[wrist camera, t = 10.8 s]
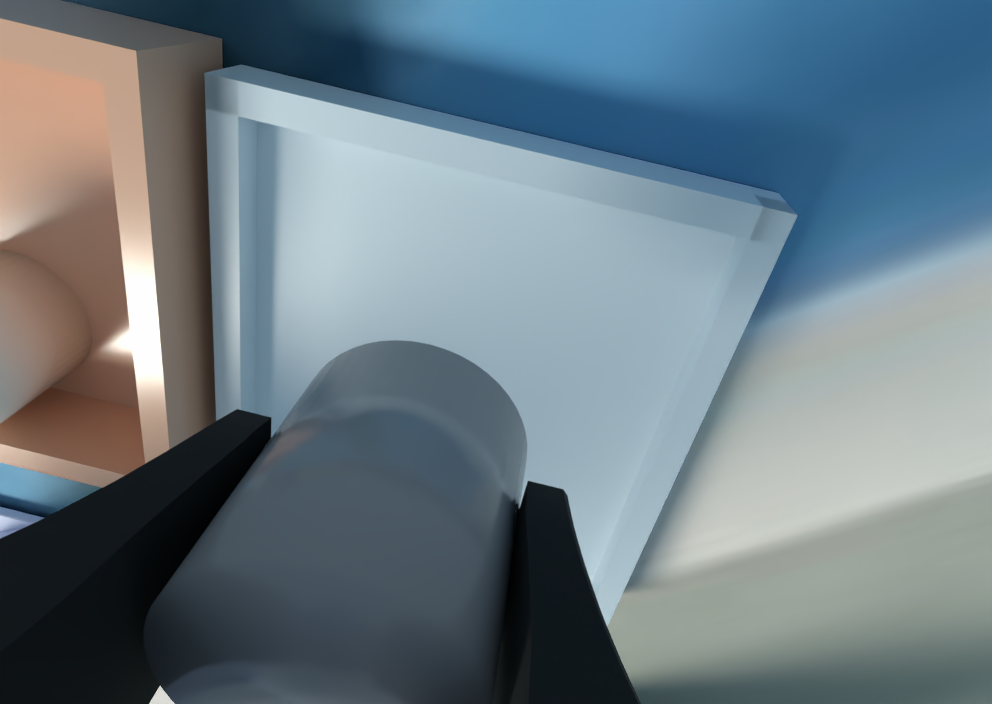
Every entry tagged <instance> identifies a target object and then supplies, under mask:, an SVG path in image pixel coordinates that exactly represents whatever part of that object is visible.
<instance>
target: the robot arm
mask: <svg viewBox="0 0 992 704" xmlns="http://www.w3.org/2000/svg"><path fill="white" fill-rule="evenodd" d="M271 418H272V417H267V416H263V415H259V414H255V413H251V412H247V411H243V410H239V409H236V410H234V411H233V412H231V413H229V414H228V415H226V416H224V417H222V418H221V419H219V420H217V421H215V422H214V423H212V424H211V425H209V426H207V427H206V428H204V429H202V430H201V431H199V432H197V433H196V434H194V435H192V436H191V437H189V438H187V439H186V440H184V441H182V442H181V443H179V444H178V445H176V446H174V447H173V448H171V449H169V450H168V451H166V452H164V453H163V454H161V455H159V456H157V457H156V458H154V459H152V460H151V461H149V462H147V463H145V464H144V465H142V466H140V467H138V468H137V469H135V470H133V471H132V472H130V473H128V474H126V475H125V476H123V477H121V478H119V479H118V480H116V481H114V482H112V483H110V484H109V485H107V486H105V487H103V488H101V489H99V490H97V491H95V492H94V493H92V494H90V495H88V496H86V497H84V498H82V499H80V500H78V501H77V502H75V503H73V504H71V505H69V506H67V507H65V508H63V509H61V510H59V511H58V512H56V513H54V514H52V515H50V516H47V517H45V518H43V517H39V516H35V515H31V514H28V513H24V512H20V511H16V510H12V509H8V508H4V507H0V704H149V703H150V701H151V699H152V698H153V696H154V694H155V693H156V691H157V689H158V688H159V686H160V684H159V682H158V680H157V679H156V677H155V676H154V674H153V672H152V670H151V667H150V665H149V662H148V660H147V657H146V652H145V648H144V638H143V630H144V625H145V619H146V616H147V614H148V612H149V610H150V607H151V605H152V604H153V602H154V601H155V600H156V598H157V597H158V595H159V594H160V593H161V591H162V590H163V588H164V587H165V586H166V584H167V583H168V581H169V580H170V579H171V577H172V576H173V574H174V573H175V572H176V570H177V569H178V567H179V566H180V565H181V563H182V562H183V560H184V559H185V558H186V556H187V555H188V553H189V552H190V551H191V549H192V548H193V546H194V545H195V544H196V542H197V541H198V539H199V538H200V537H201V535H202V534H203V532H204V531H205V530H206V528H207V527H208V525H209V524H210V523H211V521H212V520H213V518H214V517H215V516H216V514H217V513H218V511H219V510H220V509H221V507H222V506H223V504H224V503H225V502H226V500H227V499H228V497H229V496H230V495H231V493H232V492H233V490H234V489H235V488H236V486H237V485H238V483H239V482H240V481H241V479H242V478H243V476H244V475H245V474H246V472H247V471H248V469H249V468H250V467H251V465H252V464H253V462H254V461H255V460H256V458H257V457H258V455H259V454H260V453H261V451H262V450H263V448H264V447H265V446H266V444H267V443H268V441H269V440H270V439H271ZM492 704H641V703H640V701H639V699H638V697H637V695H636V692H635V690H634V688H633V686H632V684H631V682H630V680H629V677H628V675H627V673H626V671H625V668H624V666H623V664H622V662H621V659H620V657H619V655H618V652H617V650H616V647H615V645H614V642H613V640H612V638H611V635H610V633H609V630H608V628H607V625H606V623H605V620H604V617H603V615H602V612H601V610H600V607H599V604H598V601H597V598H596V595H595V593H594V590H593V587H592V584H591V581H590V578H589V575H588V572H587V569H586V566H585V563H584V560H583V556H582V553H581V550H580V546H579V543H578V539H577V535H576V532H575V528H574V524H573V520H572V515H571V511H570V506H569V501H568V496H567V494H566V493H565V491H564V490H563V489H560V488H556V487H552V486H548V485H544V484H540V483H536V482H532V481H528V482H527V485H526V489H525V492H524V495H523V499H522V502H521V505H520V509H519V515H518V522H517V529H516V536H515V543H514V551H513V559H512V567H511V574H510V581H509V588H508V595H507V602H506V609H505V616H504V623H503V630H502V638H501V645H500V652H499V659H498V666H497V673H496V680H495V687H494V694H493V701H492Z"/></svg>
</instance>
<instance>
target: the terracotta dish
mask: <svg viewBox="0 0 992 704" xmlns="http://www.w3.org/2000/svg"><path fill="white" fill-rule="evenodd" d="M219 69H223V56H222V38H217V37H213V36H209V35H205V34H201V33H197V32H192V31H188V30H184V29H180V28H176V27H171V26H167V25H163V24H159V23H155V22H150V21H146V20H142V19H138V18H134V17H130V16H125V15H121V14H117V13H113V12H109V11H104V10H100V9H96V8H92V7H88V6H83V5H79V4H75V3H71V2H67V1H63V0H0V250H5V251H11V252H14V253H18V254H21V255H23V256H26V257H28V258H30V259H32V260H34V261H36V262H38V263H40V264H41V265H43V266H44V267H46V268H47V269H49V270H50V271H51V272H53V273H54V274H55V275H56V276H57V277H59V278H60V279H61V280H62V281H63V282H64V283H65V284H66V285H67V286H68V287H69V288H70V290H71V291H72V292H73V293H74V295H75V296H76V297H77V299H78V300H79V302H80V304H81V305H82V307H83V309H84V311H85V313H86V315H87V318H88V321H89V324H90V328H91V336H92V338H91V347H90V351H89V354H88V356H87V358H86V359H85V360H84V362H83V363H82V364H81V365H80V366H78V367H77V368H76V369H74V370H73V371H71V372H70V373H69V374H67V375H66V376H65V377H63V378H62V379H61V380H59V381H58V382H57V383H55V384H54V385H52V386H51V387H50V388H48V389H47V390H46V391H44V392H43V393H42V394H40V395H39V396H37V397H36V398H35V399H33V400H32V401H31V402H29V403H28V404H27V405H25V406H24V407H23V408H21V409H20V410H18V411H17V412H16V413H14V414H13V415H12V416H10V417H9V418H8V419H6V420H5V421H4V422H2V423H1V424H0V462H1V463H5V464H9V465H13V466H17V467H21V468H25V469H29V470H33V471H37V472H41V473H45V474H49V475H53V476H57V477H61V478H65V479H69V480H73V481H77V482H81V483H85V484H89V485H93V486H97V487H101V488H103V487H105V486H107V485H109V484H110V483H112V482H114V481H116V480H118V479H119V478H121V477H123V476H125V475H126V474H128V473H130V472H132V471H133V470H135V469H137V468H138V467H140V466H142V465H144V464H145V463H147V462H149V461H151V460H152V459H154V458H156V457H157V456H159V455H161V454H163V453H164V452H166V451H168V450H169V449H171V448H173V447H174V446H176V445H178V444H179V443H181V442H182V441H184V440H186V439H187V438H189V437H191V436H192V435H194V434H196V433H197V432H199V431H201V430H202V429H204V428H206V427H207V426H209V425H211V424H212V423H214V422H215V421H216V402H215V372H214V342H213V313H212V283H211V254H210V224H209V194H208V165H207V135H206V106H205V76H204V73H206V72H210V71H215V70H219Z"/></svg>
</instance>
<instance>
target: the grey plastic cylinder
mask: <svg viewBox="0 0 992 704" xmlns="http://www.w3.org/2000/svg"><path fill="white" fill-rule="evenodd" d="M526 460H527V438H526V432H525V428H524V425H523V421H522V419H521V416H520V414H519V412H518V410H517V408H516V406H515V404H514V403H513V401H512V400H511V398H510V397H509V395H508V394H507V393H506V392H505V390H504V389H503V388H502V387H501V386H500V384H499V383H498V382H497V381H495V380H494V379H493V378H492V377H491V376H490V375H489V374H488V373H487V372H485V371H484V370H483V369H481V368H480V367H479V366H477V365H476V364H474V363H473V362H471V361H469V360H467V359H466V358H464V357H462V356H460V355H458V354H456V353H453V352H451V351H449V350H446V349H443V348H440V347H437V346H434V345H430V344H425V343H420V342H414V341H402V340H391V341H378V342H373V343H367V344H364V345H361V346H357V347H354V348H352V349H350V350H348V351H345V352H343V353H341V354H339V355H338V356H337V357H335V358H334V359H332V360H331V361H329V362H328V363H327V364H326V365H325V366H324V367H323V368H322V369H321V370H320V371H319V372H318V373H317V375H316V376H315V377H314V379H313V380H312V381H311V383H310V384H309V386H308V387H307V388H306V390H305V391H304V393H303V394H302V395H301V397H300V398H299V400H298V401H297V402H296V404H295V405H294V407H293V408H292V409H291V411H290V412H289V414H288V415H287V416H286V418H285V419H284V420H283V422H282V423H281V425H280V426H279V427H278V429H277V430H276V432H275V433H274V434H273V436H272V437H271V439H270V440H269V441H268V443H267V444H266V446H265V447H264V448H263V450H262V451H261V453H260V454H259V455H258V457H257V458H256V460H255V461H254V462H253V464H252V465H251V467H250V468H249V469H248V471H247V472H246V474H245V475H244V476H243V478H242V479H241V481H240V482H239V483H238V485H237V486H236V488H235V489H234V490H233V492H232V493H231V495H230V496H229V497H228V499H227V500H226V502H225V503H224V504H223V506H222V507H221V509H220V510H219V511H218V513H217V514H216V516H215V517H214V518H213V520H212V521H211V523H210V524H209V525H208V527H207V528H206V530H205V531H204V532H203V534H202V535H201V537H200V538H199V539H198V541H197V542H196V544H195V545H194V546H193V548H192V549H191V551H190V552H189V553H188V555H187V556H186V558H185V559H184V560H183V562H182V563H181V565H180V566H179V567H178V569H177V570H176V572H175V573H174V574H173V576H172V577H171V579H170V580H169V581H168V583H167V584H166V586H165V587H164V588H163V590H162V591H161V593H160V594H159V595H158V597H157V598H156V600H155V601H154V602H153V604H152V605H151V607H150V610H149V612H148V614H147V616H146V619H145V625H144V630H143V638H144V648H145V652H146V657H147V660H148V662H149V665H150V667H151V670H152V672H153V674H154V676H155V677H156V679H157V680H158V682H159V684H160V685H161V687H162V688H163V690H164V691H165V692H166V693H167V695H168V696H169V697H170V698H171V700H172V701H173V702H174V703H175V704H492V701H493V694H494V687H495V680H496V673H497V666H498V659H499V652H500V645H501V638H502V630H503V623H504V616H505V609H506V602H507V595H508V588H509V581H510V574H511V567H512V559H513V551H514V543H515V536H516V529H517V522H518V515H519V509H520V503H521V496H522V489H523V482H524V474H525V467H526Z"/></svg>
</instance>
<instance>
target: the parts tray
mask: <svg viewBox="0 0 992 704" xmlns="http://www.w3.org/2000/svg"><path fill="white" fill-rule="evenodd" d="M204 76H205V106H206V135H207V165H208V194H209V224H210V254H211V283H212V313H213V342H214V372H215V402H216V421H217V420H219V419H221V418H222V417H224V416H226V415H228V414H229V413H231V412H233V411H234V410H236V409H239V410H243V411H247V412H251V413H255V414H259V415H263V416H267V417H272V418H271V437H272V436H273V434H274V433H275V432H276V430H277V429H278V427H279V426H280V425H281V423H282V422H283V420H284V419H285V418H286V416H287V415H288V414H289V412H290V411H291V409H292V408H293V407H294V405H295V404H296V402H297V401H298V400H299V398H300V397H301V395H302V394H303V393H304V391H305V390H306V388H307V387H308V386H309V384H310V383H311V381H312V380H313V379H314V377H315V376H316V375H317V373H318V372H319V371H320V370H321V369H322V368H323V367H324V366H325V365H326V364H327V363H328V362H329V361H331V360H332V359H334V358H335V357H337V356H338V355H339V354H341V353H343V352H345V351H348V350H350V349H352V348H354V347H357V346H361V345H364V344H367V343H373V342H378V341H391V340H402V341H414V342H420V343H425V344H430V345H434V346H437V347H440V348H443V349H446V350H449V351H451V352H453V353H456V354H458V355H460V356H462V357H464V358H466V359H467V360H469V361H471V362H473V363H474V364H476V365H477V366H479V367H480V368H481V369H483V370H484V371H485V372H487V373H488V374H489V375H490V376H491V377H492V378H493V379H494V380H495V381H497V382H498V383H499V384H500V386H501V387H502V388H503V389H504V390H505V392H506V393H507V394H508V395H509V397H510V398H511V400H512V401H513V403H514V404H515V406H516V408H517V410H518V412H519V414H520V416H521V419H522V421H523V425H524V428H525V432H526V438H527V460H526V467H525V474H524V482H523V489H522V496H521V502H522V499H523V495H524V492H525V489H526V485H527V482H528V481H532V482H536V483H540V484H544V485H548V486H552V487H556V488H560V489H563V490H564V491H565V493H566V494H567V496H568V501H569V506H570V511H571V515H572V520H573V524H574V528H575V532H576V535H577V539H578V543H579V546H580V550H581V553H582V556H583V560H584V563H585V566H586V569H587V572H588V575H589V578H590V581H591V584H592V587H593V590H594V593H595V595H596V598H597V601H598V604H599V607H600V610H601V612H602V615H603V617H604V620H605V623H606V625H607V626H608V624H609V622H610V620H611V617H612V615H613V613H614V611H615V609H616V607H617V604H618V602H619V600H620V598H621V596H622V594H623V592H624V589H625V587H626V585H627V583H628V581H629V579H630V576H631V574H632V572H633V570H634V568H635V566H636V563H637V561H638V559H639V557H640V555H641V553H642V551H643V548H644V546H645V544H646V542H647V540H648V538H649V535H650V533H651V531H652V529H653V527H654V525H655V522H656V520H657V518H658V516H659V514H660V512H661V509H662V507H663V505H664V503H665V501H666V499H667V497H668V494H669V492H670V490H671V488H672V486H673V484H674V481H675V479H676V477H677V475H678V473H679V471H680V468H681V466H682V464H683V462H684V460H685V458H686V456H687V453H688V451H689V449H690V447H691V445H692V443H693V440H694V438H695V436H696V434H697V432H698V430H699V427H700V425H701V423H702V421H703V419H704V417H705V415H706V412H707V410H708V408H709V406H710V404H711V402H712V399H713V397H714V395H715V393H716V391H717V389H718V386H719V384H720V382H721V380H722V378H723V376H724V373H725V371H726V369H727V367H728V365H729V363H730V361H731V358H732V356H733V354H734V352H735V350H736V348H737V345H738V343H739V341H740V339H741V337H742V335H743V332H744V330H745V328H746V326H747V324H748V322H749V320H750V317H751V315H752V313H753V311H754V309H755V307H756V304H757V302H758V300H759V298H760V296H761V294H762V291H763V289H764V287H765V285H766V283H767V281H768V279H769V276H770V274H771V272H772V270H773V268H774V266H775V263H776V261H777V259H778V257H779V255H780V253H781V250H782V248H783V246H784V244H785V242H786V240H787V237H788V235H789V233H790V231H791V229H792V227H793V225H794V222H795V220H796V218H797V216H798V215H797V214H796V212H795V211H794V210H793V209H792V208H791V207H790V206H789V204H788V203H787V202H786V201H785V200H784V199H783V198H782V197H781V195H780V194H779V193H776V192H772V191H768V190H764V189H760V188H755V187H751V186H747V185H743V184H739V183H734V182H730V181H726V180H722V179H718V178H714V177H709V176H705V175H701V174H697V173H693V172H689V171H684V170H680V169H676V168H672V167H668V166H663V165H659V164H655V163H651V162H647V161H643V160H638V159H634V158H630V157H626V156H622V155H618V154H613V153H609V152H605V151H601V150H597V149H592V148H588V147H584V146H580V145H576V144H572V143H567V142H563V141H559V140H555V139H551V138H547V137H542V136H538V135H534V134H530V133H526V132H521V131H517V130H513V129H509V128H505V127H501V126H496V125H492V124H488V123H484V122H480V121H476V120H471V119H467V118H463V117H459V116H455V115H450V114H446V113H442V112H438V111H434V110H430V109H425V108H421V107H417V106H413V105H409V104H405V103H400V102H396V101H392V100H388V99H384V98H379V97H375V96H371V95H367V94H363V93H359V92H354V91H350V90H346V89H342V88H338V87H334V86H329V85H325V84H321V83H317V82H313V81H308V80H304V79H300V78H296V77H292V76H288V75H283V74H279V73H275V72H271V71H267V70H263V69H258V68H254V67H250V66H246V65H242V64H241V65H237V66H232V67H228V68H224V69H219V70H215V71H210V72H206V73H204ZM520 505H521V503H520Z"/></svg>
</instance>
